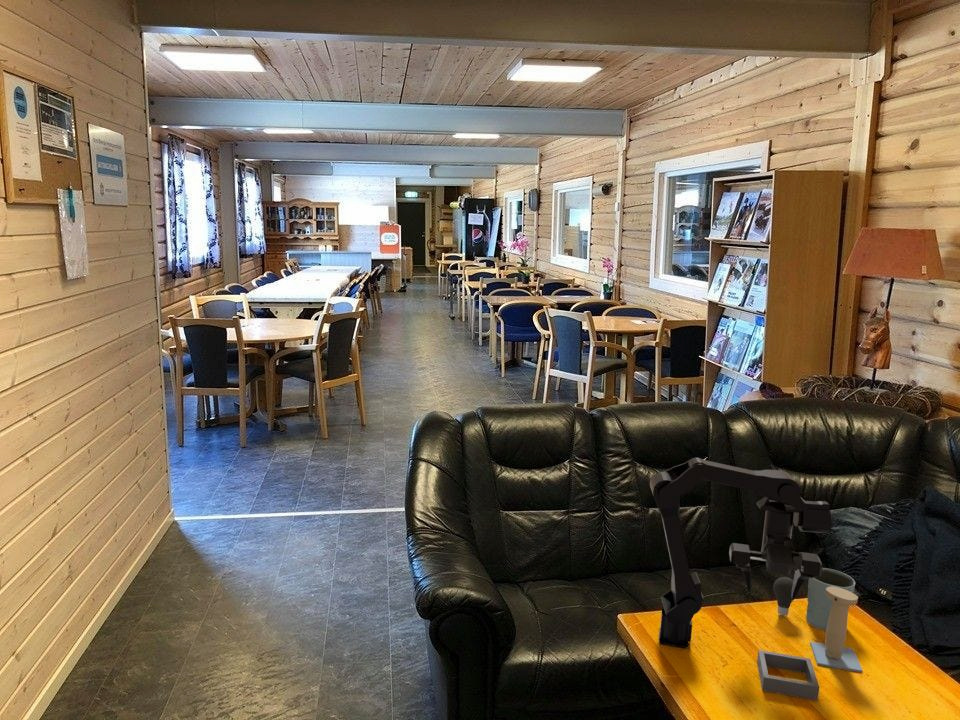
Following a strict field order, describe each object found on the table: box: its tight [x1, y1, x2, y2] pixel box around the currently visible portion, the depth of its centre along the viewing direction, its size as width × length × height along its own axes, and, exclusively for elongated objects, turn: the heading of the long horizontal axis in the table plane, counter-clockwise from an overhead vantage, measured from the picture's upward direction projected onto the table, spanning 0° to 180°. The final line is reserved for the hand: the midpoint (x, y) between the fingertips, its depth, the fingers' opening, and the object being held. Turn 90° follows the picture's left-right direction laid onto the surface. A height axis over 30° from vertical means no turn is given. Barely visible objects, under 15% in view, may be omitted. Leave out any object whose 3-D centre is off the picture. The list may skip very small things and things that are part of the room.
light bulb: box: [772, 576, 799, 618], centre depth 178 cm, size 6×6×10 cm
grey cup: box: [805, 567, 856, 632], centre depth 176 cm, size 10×10×12 cm
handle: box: [824, 586, 859, 659], centre depth 160 cm, size 5×6×15 cm
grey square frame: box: [756, 649, 820, 701], centre depth 152 cm, size 10×10×3 cm
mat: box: [809, 641, 864, 674], centre depth 162 cm, size 9×9×1 cm
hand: (770, 594), depth 162 cm, fingers open, 9 cm apart
